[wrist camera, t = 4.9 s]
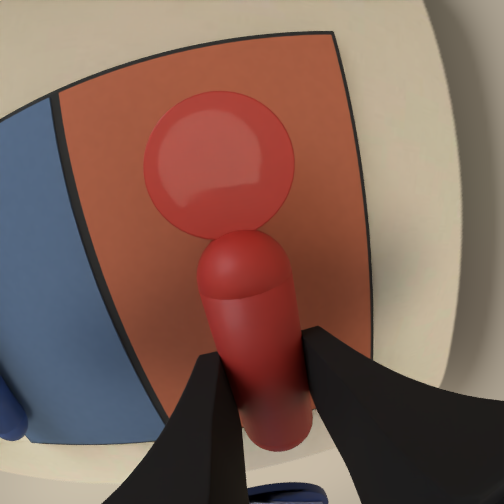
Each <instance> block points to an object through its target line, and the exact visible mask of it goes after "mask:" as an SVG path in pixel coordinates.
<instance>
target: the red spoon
mask: <svg viewBox="0 0 504 504" xmlns="http://www.w3.org/2000/svg"><path fill="white" fill-rule="evenodd" d="M294 172H295V157H294V150H293V146H292V142H291V139H290V137H289V134H288V132H287V130H286V128H285V127H284V125H283V123H282V122H281V121H280V119H279V118H278V117H277V116H276V115H275V114H274V113H273V112H272V111H271V110H270V109H269V108H268V107H267V106H265V105H264V104H263V103H261V102H259V101H258V100H256V99H254V98H252V97H249V96H247V95H244V94H241V93H237V92H231V91H209V92H203V93H200V94H196V95H193V96H191V97H189V98H186V99H184V100H182V101H181V102H179V103H177V104H176V105H175V106H173V107H172V108H171V109H170V110H168V111H167V112H166V113H165V114H164V115H163V116H162V117H161V119H160V120H159V121H158V123H157V124H156V125H155V127H154V129H153V131H152V132H151V134H150V136H149V139H148V142H147V144H146V148H145V152H144V160H143V175H144V180H145V185H146V188H147V191H148V194H149V196H150V198H151V201H152V203H153V204H154V206H155V207H156V209H157V210H158V211H159V213H160V214H161V215H162V216H163V217H164V218H165V219H166V220H167V221H168V222H169V223H170V224H172V225H173V226H175V227H176V228H177V229H179V230H181V231H183V232H185V233H187V234H189V235H192V236H195V237H198V238H203V239H209V240H213V241H211V242H210V243H209V245H208V246H207V247H206V248H205V250H204V251H203V253H202V255H201V257H200V259H199V263H198V267H197V277H196V279H197V284H198V290H199V294H200V297H201V300H202V304H203V307H204V310H205V314H206V317H207V320H208V323H209V326H210V330H211V333H212V336H213V339H214V342H215V345H216V348H217V351H218V354H219V355H220V358H221V361H222V364H223V367H224V370H225V373H226V376H227V379H228V382H229V384H230V387H231V390H232V393H233V396H234V399H235V402H236V404H237V407H238V411H239V415H240V418H241V420H242V423H243V426H244V429H245V431H246V433H247V435H248V436H249V438H250V439H251V441H253V442H254V443H255V444H256V445H257V446H259V447H261V448H262V449H265V450H269V451H274V452H281V451H287V450H290V449H292V448H294V447H296V446H298V445H299V444H300V443H302V442H303V441H304V439H305V438H306V437H307V436H308V434H309V432H310V430H311V427H312V420H313V415H312V407H311V399H310V391H309V386H308V378H307V371H306V363H305V356H304V349H303V342H302V335H301V334H302V333H301V326H300V319H299V313H298V306H297V300H296V293H295V287H294V281H293V275H292V268H291V264H290V261H289V258H288V256H287V254H286V252H285V250H284V249H283V248H282V246H281V245H280V244H279V243H278V242H277V241H276V240H275V239H273V238H272V237H271V236H269V235H268V234H266V233H263V232H261V231H259V230H257V229H258V228H260V227H262V226H263V225H264V224H266V223H267V222H268V221H269V220H270V219H271V218H272V217H273V216H274V215H275V214H276V213H277V212H278V211H279V209H280V208H281V207H282V205H283V204H284V202H285V200H286V199H287V197H288V194H289V192H290V190H291V186H292V183H293V179H294Z"/></svg>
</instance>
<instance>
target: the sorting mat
mask: <svg viewBox="0 0 504 504" xmlns="http://www.w3.org/2000/svg"><path fill="white" fill-rule="evenodd" d="M209 91H231V92H237V93H241V94H244V95H247V96H249V97H252V98H254V99H256V100H258V101H259V102H261V103H263V104H264V105H265V106H267V107H268V108H269V109H270V110H271V111H272V112H273V113H274V114H275V115H276V116H277V117H278V118H279V119H280V121H281V122H282V123H283V125H284V127H285V128H286V130H287V132H288V134H289V137H290V139H291V142H292V146H293V150H294V157H295V172H294V179H293V183H292V186H291V190H290V192H289V194H288V197H287V199H286V200H285V202H284V204H283V205H282V207H281V208H280V209H279V211H278V212H277V213H276V214H275V215H274V216H273V217H272V218H271V219H270V220H269V221H268V222H267V223H266V224H264V225H263V226H262V227H260V228H258V229H257V230H259V231H261V232H263V233H266V234H268V235H269V236H271V237H272V238H273V239H275V240H276V241H277V242H278V243H279V244H280V245H281V246H282V248H283V249H284V250H285V252H286V254H287V256H288V258H289V261H290V264H291V268H292V275H293V281H294V287H295V293H296V300H297V306H298V313H299V319H300V326H301V330H304V329H308V328H311V327H315V326H320V327H322V328H323V329H325V330H326V331H327V332H329V333H330V334H332V335H333V336H335V337H336V338H338V339H339V340H341V341H342V342H344V343H345V344H347V345H348V346H350V347H351V348H353V349H355V350H356V351H358V352H359V353H361V354H363V355H365V356H366V357H368V358H370V359H371V360H373V286H372V264H371V248H370V235H369V224H368V213H367V204H366V195H365V186H364V179H363V171H362V164H361V157H360V151H359V144H358V138H357V133H356V127H355V121H354V116H353V111H352V106H351V101H350V96H349V91H348V87H347V82H346V78H345V74H344V69H343V65H342V61H341V57H340V53H339V49H338V45H337V42H336V38H335V34H334V31H307V32H287V33H274V34H264V35H255V36H246V37H239V38H232V39H225V40H219V41H214V42H208V43H203V44H198V45H193V46H188V47H184V48H179V49H175V50H171V51H167V52H163V53H159V54H156V55H152V56H148V57H145V58H141V59H138V60H135V61H131V62H128V63H125V64H122V65H119V66H116V67H113V68H110V69H107V70H105V71H102V72H99V73H96V74H94V75H91V76H89V77H86V78H83V79H81V80H78V81H76V82H74V83H71V84H69V85H67V86H64V87H62V88H60V89H58V90H55V91H53V92H51V93H49V94H47V95H45V96H43V97H41V98H39V99H36V100H34V101H33V102H31V103H29V104H27V105H25V106H23V107H21V108H19V109H17V110H15V111H14V112H12V113H10V114H8V115H7V116H5V117H3V118H1V119H0V375H1V376H2V378H3V379H4V381H5V383H6V384H7V386H8V387H9V389H10V390H11V392H12V393H13V395H14V396H15V398H16V399H17V401H18V402H19V403H20V405H21V406H22V408H23V409H24V411H25V413H26V415H27V419H28V429H27V432H26V434H25V436H26V437H27V438H28V439H29V440H30V442H31V443H42V444H63V445H108V444H129V443H143V442H154V441H156V440H157V438H158V437H159V435H160V433H161V432H162V430H163V429H164V427H165V425H166V423H167V421H168V420H169V418H170V416H171V414H172V413H173V411H174V409H175V407H176V405H177V403H178V401H179V399H180V397H181V395H182V393H183V391H184V389H185V387H186V384H187V382H188V380H189V378H190V375H191V373H192V370H193V368H194V365H195V363H196V360H197V358H198V357H199V355H202V354H207V353H211V352H216V351H217V348H216V345H215V342H214V339H213V336H212V333H211V330H210V326H209V323H208V320H207V317H206V314H205V310H204V307H203V304H202V300H201V297H200V294H199V290H198V284H197V279H196V277H197V267H198V263H199V259H200V257H201V255H202V253H203V251H204V250H205V248H206V247H207V246H208V245H209V243H210V242H211V241H213V240H209V239H203V238H198V237H195V236H192V235H189V234H187V233H185V232H183V231H181V230H179V229H177V228H176V227H175V226H173V225H172V224H170V223H169V222H168V221H167V220H166V219H165V218H164V217H163V216H162V215H161V214H160V213H159V211H158V210H157V209H156V207H155V206H154V204H153V203H152V201H151V198H150V196H149V194H148V191H147V188H146V185H145V180H144V175H143V160H144V152H145V148H146V144H147V142H148V139H149V136H150V134H151V132H152V131H153V129H154V127H155V125H156V124H157V123H158V121H159V120H160V119H161V117H162V116H163V115H164V114H165V113H166V112H167V111H168V110H170V109H171V108H172V107H173V106H175V105H176V104H177V103H179V102H181V101H182V100H184V99H186V98H189V97H191V96H193V95H196V94H200V93H203V92H209ZM310 399H311V407H312V410H314V409H316V407H315V405H314V402H313V399H312V397H311V394H310ZM239 416H240V415H239ZM240 421H241V426H242V428H244V426H243V423H242V420H241V418H240Z"/></svg>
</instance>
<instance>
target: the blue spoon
mask: <svg viewBox="0 0 504 504" xmlns="http://www.w3.org/2000/svg"><path fill="white" fill-rule="evenodd" d="M27 429H28V419H27V415H26V413H25V411H24V409H23V408H22V406H21V405H20V403H19V402H18V401H17V399H16V398H15V396H14V395H13V393H12V392H11V390H10V389H9V387H8V386H7V384H6V383H5V381H4V379H3V378H2V376H1V375H0V437H1V438H3V439H5V440H8V441H16V440H19V439H21V438H22V437H23V436H24V435H25V434H26V432H27Z"/></svg>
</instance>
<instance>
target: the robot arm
mask: <svg viewBox="0 0 504 504" xmlns="http://www.w3.org/2000/svg"><path fill="white" fill-rule="evenodd" d="M301 333H302V334H301V335H302V342H303V349H304V356H305V363H306V371H307V378H308V386H309V391H310V394H311V397H312V399H313V402H314V405H315V407H316V409H317V411H318V413H319V415H320V417H321V419H322V421H323V423H324V424H325V426H326V428H327V430H328V432H329V434H330V436H331V438H332V439H333V441H334V443H335V445H336V447H337V449H338V451H339V452H340V454H341V456H342V458H343V460H344V462H345V464H346V466H347V468H348V470H349V472H350V475H351V477H352V480H353V482H354V485H355V488H356V490H357V493H358V495H359V498H360V500H361V503H362V504H504V401H499V400H492V399H484V398H477V397H472V396H467V395H462V394H458V393H454V392H450V391H446V390H442V389H439V388H436V387H433V386H430V385H427V384H424V383H421V382H419V381H416V380H413V379H411V378H408V377H406V376H403V375H401V374H399V373H397V372H394V371H392V370H390V369H388V368H386V367H384V366H382V365H380V364H379V363H377V362H375V361H373V360H371V359H370V358H368V357H366V356H365V355H363V354H361V353H359V352H358V351H356V350H355V349H353V348H351V347H350V346H348V345H347V344H345V343H344V342H342V341H341V340H339V339H338V338H336V337H335V336H333V335H332V334H330V333H329V332H327V331H326V330H325V329H323V328H322V327H320V326H315V327H311V328H308V329H304V330H301ZM102 504H323V503H322V502H283V501H263V500H252V501H249V499H248V492H247V486H246V473H245V461H244V449H243V438H242V426H241V421H240V416H239V411H238V407H237V404H236V402H235V399H234V396H233V393H232V390H231V387H230V384H229V382H228V379H227V376H226V373H225V370H224V367H223V364H222V361H221V358H220V355H219V354H218V351H216V352H211V353H207V354H202V355H199V357H198V358H197V360H196V363H195V365H194V368H193V370H192V373H191V375H190V378H189V380H188V382H187V384H186V387H185V389H184V391H183V393H182V395H181V397H180V399H179V401H178V403H177V405H176V407H175V409H174V411H173V413H172V414H171V416H170V418H169V420H168V421H167V423H166V425H165V427H164V429H163V430H162V432H161V433H160V435H159V437H158V438H157V440H156V441H155V443H154V444H153V446H152V447H151V449H150V450H149V451H148V453H147V454H146V455H145V457H144V458H143V459H142V461H141V462H140V463H139V464H138V466H137V467H136V468H135V469H134V471H133V472H132V473H131V474H130V475H129V477H128V478H127V479H126V480H125V481H124V482H123V483H122V484H121V486H119V488H118V489H117V490H115V492H113V493H112V494H111V495H110V496H109V497H108V498H107V499H106V500H105V501H104V502H103V503H102Z"/></svg>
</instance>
